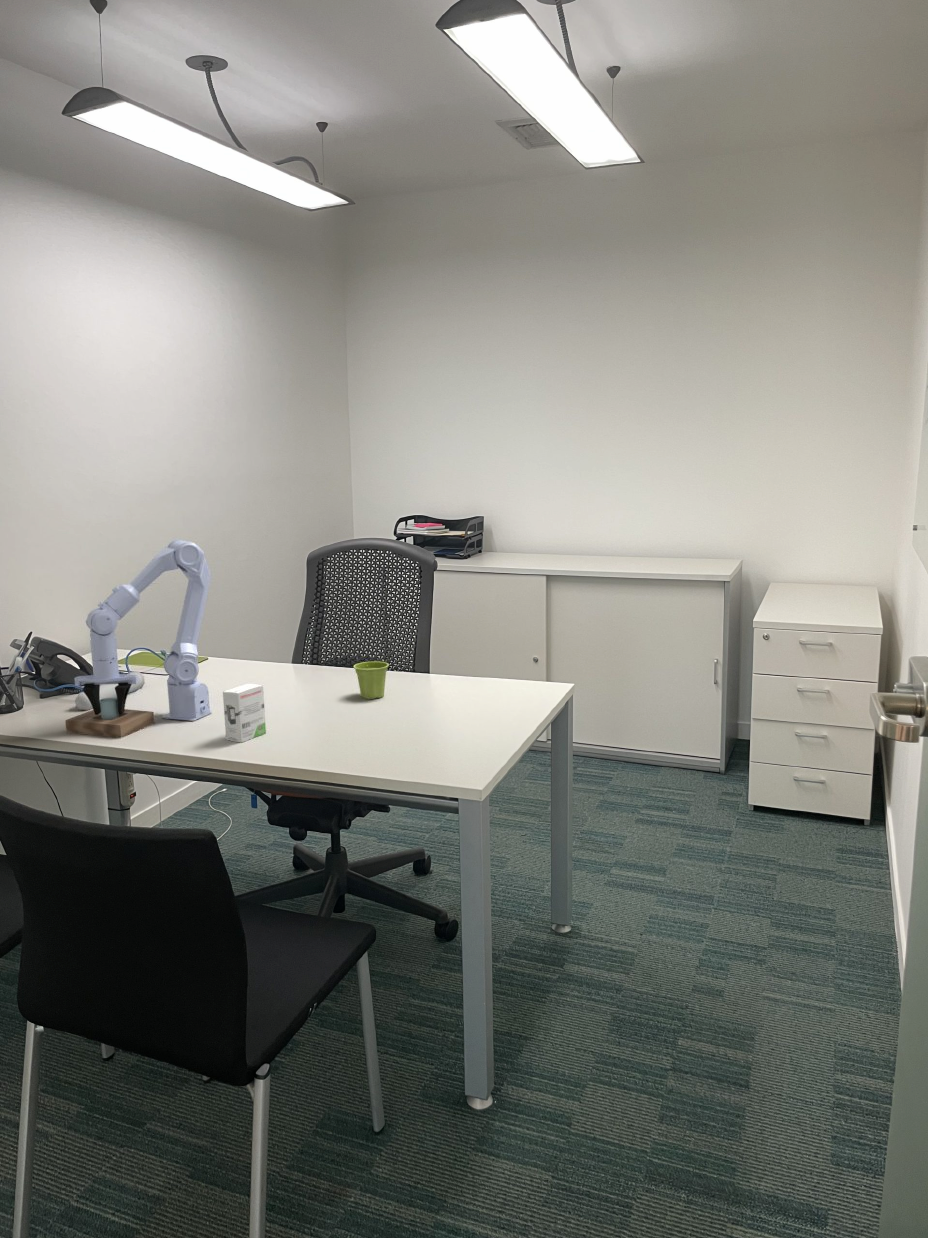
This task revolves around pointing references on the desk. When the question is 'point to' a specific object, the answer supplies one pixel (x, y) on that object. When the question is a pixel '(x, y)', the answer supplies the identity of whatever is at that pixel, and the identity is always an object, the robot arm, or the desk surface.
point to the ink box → (244, 712)
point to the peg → (109, 708)
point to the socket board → (110, 723)
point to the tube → (107, 692)
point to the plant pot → (371, 678)
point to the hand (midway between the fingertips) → (109, 713)
